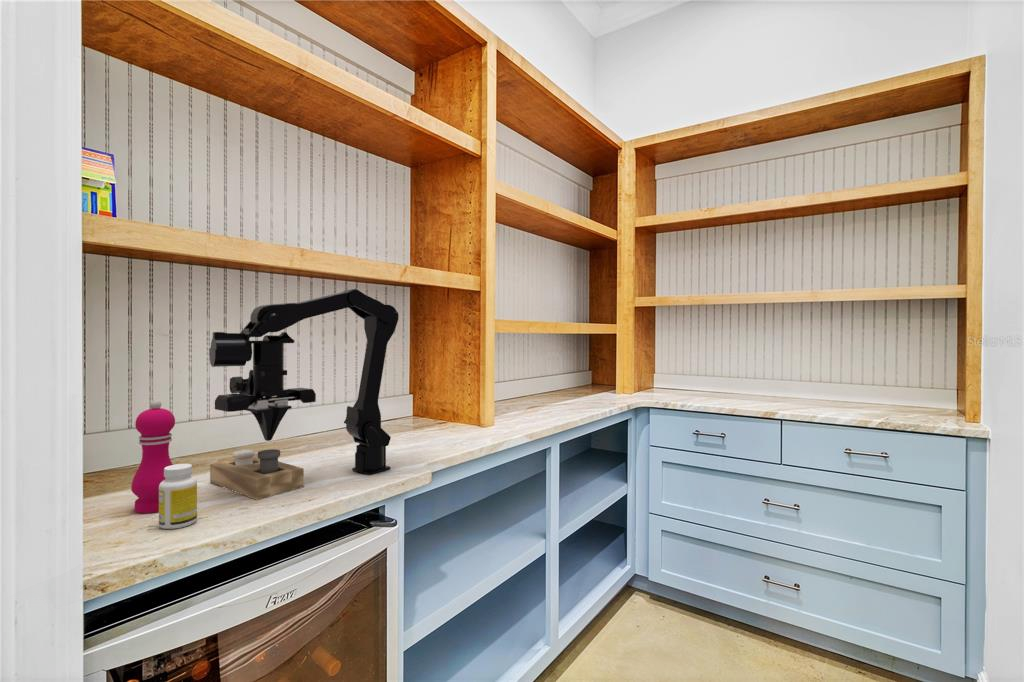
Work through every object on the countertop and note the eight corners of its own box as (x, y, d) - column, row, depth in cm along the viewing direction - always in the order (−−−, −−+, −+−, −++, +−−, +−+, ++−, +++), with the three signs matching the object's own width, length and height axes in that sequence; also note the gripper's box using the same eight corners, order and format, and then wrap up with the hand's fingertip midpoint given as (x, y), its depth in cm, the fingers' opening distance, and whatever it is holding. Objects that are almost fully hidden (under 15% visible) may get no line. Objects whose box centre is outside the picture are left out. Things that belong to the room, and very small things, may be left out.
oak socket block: (255, 472, 116) (255, 455, 116) (303, 487, 105) (303, 468, 105) (210, 482, 108) (210, 464, 107) (256, 500, 97) (256, 479, 97)
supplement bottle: (204, 518, 87) (204, 462, 87) (182, 530, 82) (182, 471, 82) (174, 517, 87) (174, 462, 87) (150, 529, 82) (150, 470, 82)
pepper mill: (183, 507, 92) (182, 400, 92) (134, 517, 87) (134, 404, 87) (174, 498, 97) (174, 396, 97) (128, 507, 92) (128, 399, 92)
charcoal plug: (273, 475, 106) (273, 448, 106) (284, 478, 104) (284, 451, 104) (253, 480, 103) (253, 452, 103) (264, 483, 100) (264, 455, 100)
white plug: (248, 474, 112) (248, 448, 112) (258, 477, 110) (258, 451, 109) (229, 478, 109) (229, 451, 108) (239, 481, 106) (239, 454, 106)
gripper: (288, 361, 115) (288, 429, 115) (201, 365, 100) (201, 443, 100) (317, 364, 109) (317, 435, 109) (229, 368, 93) (228, 450, 94)
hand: (268, 440), depth 103 cm, fingers closed
